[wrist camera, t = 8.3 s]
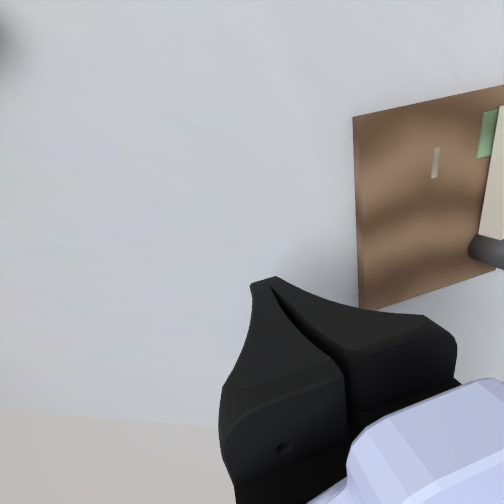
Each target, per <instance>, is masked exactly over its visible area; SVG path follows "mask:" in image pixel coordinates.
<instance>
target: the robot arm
mask: <svg viewBox="0 0 504 504" xmlns="http://www.w3.org/2000/svg"><path fill="white" fill-rule="evenodd" d="M250 290H251V294H252V313H251V321H250V326H249V330H248V334H247V337H246V340H245V343H244V346H243V349H242V351H241V353H240V356H239V358H238V360H237V362H236V364H235V366H234V368H233V370H232V372H231V374H230V375H229V377H228V379H227V380H226V382H225V384H224V385H223V387H222V393H221V400H220V408H219V424H218V429H219V440H220V448H221V454H222V458H223V461H224V463H225V466H226V468H227V471H228V473H229V475H230V478H231V480H232V483H233V485H234V490H235V498H236V504H504V383H502V382H500V381H499V380H497V379H495V378H485V379H480V380H474V381H470V382H468V383H465V384H463V385H462V384H461V383H459V382H458V381H457V380H456V379H455V378H453V377H454V371H455V365H456V359H457V344H456V341H455V338H454V337H453V336H452V335H451V334H450V333H449V332H448V331H446V330H445V329H444V328H442V327H441V326H439V325H438V324H436V323H435V322H433V321H432V320H430V319H429V318H427V317H426V316H424V315H415V314H398V313H387V312H379V311H372V310H366V309H361V308H356V307H351V306H347V305H343V304H339V303H336V302H333V301H330V300H326V299H324V298H321V297H318V296H316V295H313V294H311V293H309V292H306V291H304V290H302V289H300V288H298V287H296V286H294V285H292V284H290V283H288V282H286V281H284V280H283V279H281V278H279V277H277V276H274V277H271V278H267V279H264V280H261V281H257V282H254V283H251V285H250Z"/></svg>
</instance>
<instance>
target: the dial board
mask: <svg viewBox="0 0 504 504" xmlns="http://www.w3.org/2000/svg"><path fill="white" fill-rule="evenodd" d="M503 105H504V85H500V86H495V87H491V88H486V89H481V90H477V91H472V92H467V93H463V94H458V95H453V96H449V97H444V98H439V99H435V100H430V101H425V102H421V103H416V104H411V105H407V106H402V107H397V108H393V109H388V110H383V111H379V112H374V113H369V114H365V115H360V116H356V117H353V143H354V172H355V200H356V229H357V258H358V286H359V308H361V309H366V310H372V311H374V310H377V309H380V308H383V307H386V306H389V305H392V304H395V303H398V302H401V301H404V300H407V299H410V298H413V297H416V296H419V295H422V294H425V293H428V292H431V291H434V290H437V289H440V288H443V287H446V286H449V285H452V284H455V283H458V282H461V281H464V280H467V279H470V278H473V277H476V276H478V275H481V274H484V273H487V272H490V271H493V270H496V267H494V266H491V265H488V264H485V263H483V262H480V261H477V260H474V259H472V258H471V257H470V254H469V248H470V245H471V243H472V241H473V239H474V238H475V237H476V236H477V235H478V232H479V227H480V221H481V215H482V209H483V203H484V197H485V191H486V185H487V179H488V173H489V167H490V161H491V156H492V150H493V144H494V138H495V132H496V126H497V120H498V114H499V108H500V106H503Z"/></svg>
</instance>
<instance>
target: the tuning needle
mask: <svg viewBox="0 0 504 504" xmlns="http://www.w3.org/2000/svg"><path fill="white" fill-rule="evenodd" d="M469 254H470V257H471V258H472V259H474V260H477V261H480V262H483V263H485V264H488V265H491V266H494V267H496V268H499V269H502V270H504V105H503V106H500V108H499V114H498V120H497V126H496V132H495V138H494V144H493V150H492V156H491V161H490V167H489V173H488V179H487V185H486V191H485V197H484V203H483V209H482V215H481V221H480V227H479V232H478V235H477V236H476V237H475V238H474V239H473V241H472V243H471V245H470V248H469Z"/></svg>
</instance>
